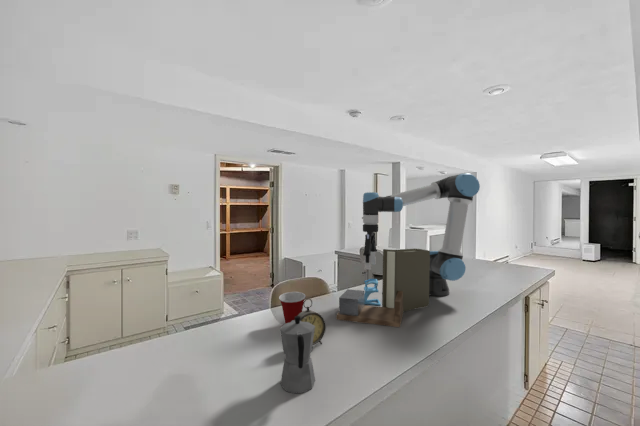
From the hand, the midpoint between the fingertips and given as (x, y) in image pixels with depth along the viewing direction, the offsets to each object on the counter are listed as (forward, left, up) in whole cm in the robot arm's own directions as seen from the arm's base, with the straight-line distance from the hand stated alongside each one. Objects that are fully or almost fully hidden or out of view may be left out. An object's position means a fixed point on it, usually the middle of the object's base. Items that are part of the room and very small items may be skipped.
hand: (370, 266), depth 147 cm
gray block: (+5, +18, -16) cm, 25 cm away
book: (-17, 0, -19) cm, 25 cm away
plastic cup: (+25, +38, -18) cm, 49 cm away
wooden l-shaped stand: (-3, +18, -18) cm, 26 cm away
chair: (0, 0, -18) cm, 18 cm away
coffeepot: (+6, +75, -18) cm, 77 cm away
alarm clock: (+12, +53, -18) cm, 57 cm away
